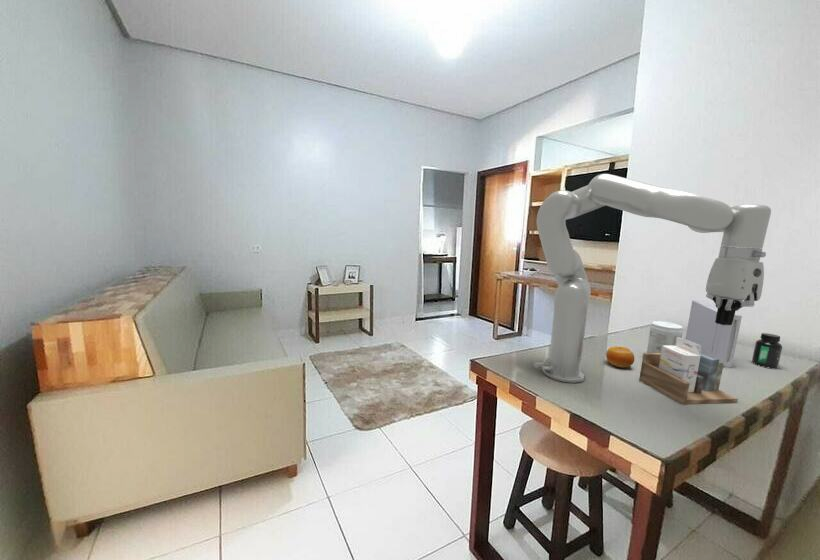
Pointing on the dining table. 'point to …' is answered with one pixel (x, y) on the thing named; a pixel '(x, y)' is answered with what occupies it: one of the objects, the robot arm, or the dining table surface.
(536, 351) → the dining table surface
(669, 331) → the supplement tub
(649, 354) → the wooden slotted rack
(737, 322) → the game console
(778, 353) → the supplement bottle
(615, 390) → the dining table surface
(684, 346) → the ink cartridge box
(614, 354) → the fruit
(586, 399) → the dining table surface
